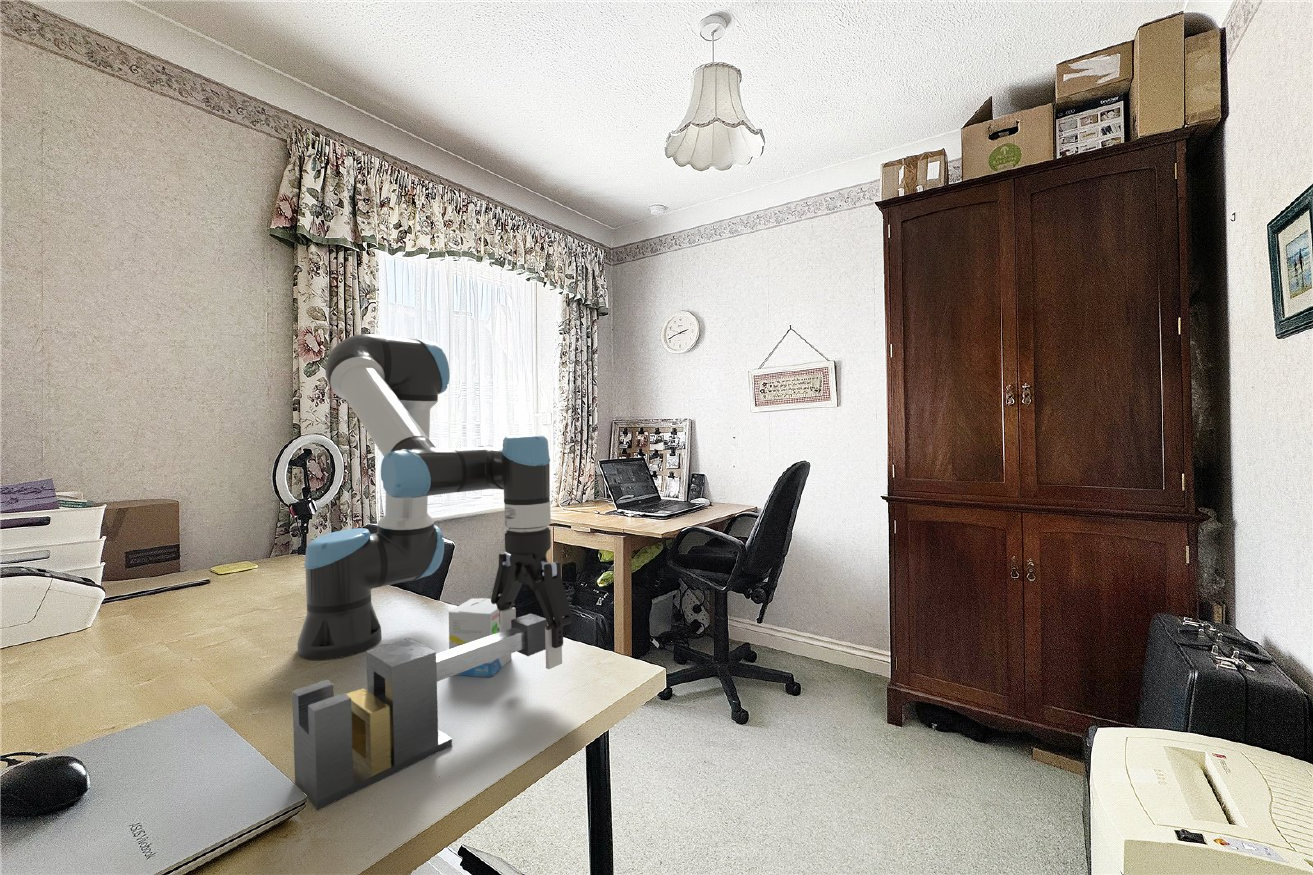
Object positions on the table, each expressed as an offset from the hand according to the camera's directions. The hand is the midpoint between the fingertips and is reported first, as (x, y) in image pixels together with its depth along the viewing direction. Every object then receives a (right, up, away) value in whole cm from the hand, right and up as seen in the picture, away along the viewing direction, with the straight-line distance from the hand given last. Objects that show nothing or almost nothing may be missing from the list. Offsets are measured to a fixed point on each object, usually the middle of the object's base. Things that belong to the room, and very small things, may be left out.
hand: (530, 655), depth 93 cm
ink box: (-12, -7, +11) cm, 17 cm away
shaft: (-7, +1, -8) cm, 10 cm away
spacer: (-17, -6, -20) cm, 27 cm away
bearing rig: (-16, -7, -19) cm, 26 cm away
